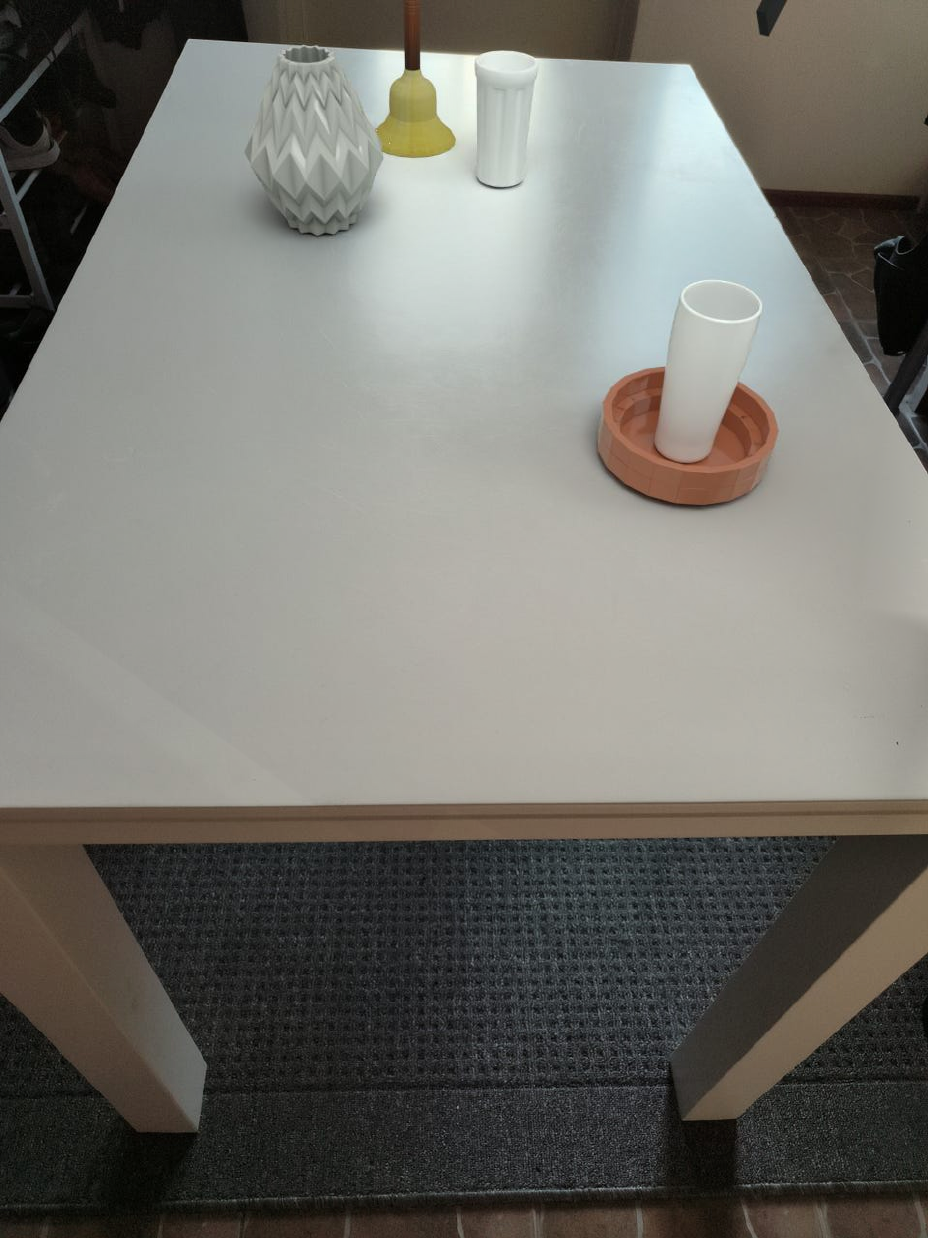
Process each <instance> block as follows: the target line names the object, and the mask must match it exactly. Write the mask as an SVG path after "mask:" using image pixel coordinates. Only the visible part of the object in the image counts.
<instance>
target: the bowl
mask: <svg viewBox="0 0 928 1238" xmlns="http://www.w3.org/2000/svg"><path fill="white" fill-rule="evenodd" d="M665 367H666V365H664V366H656V367H648V368H643V369H640V370H638V371H635V372H633V373H630V374H628V375H624V376H623V377H622V378H620V379H619V380H618V381H617V382H615V383H614V384H612V386H610V388H609V390H608V392H607V393H606V396H605V397H604V400H603V401H602V406H601V411H600V417H599V418H600V419H599V423H598V430H597V452H598V453H599V455H600V457H601V459H602V461H603V463H604V464H605V467H606V468H607V469H608V470H609V471H610V472H611V473H612V474H614V475H615V476H616V477H617V478H618V479H619V480H620V481H621V482H622V483H623V484H624V485H626V486H628V487H631V488H632V489H634V490H636V491H638V492H640V493H642V494H644V495H646V496H648V497H651V498H655V499H658V500H662V501H665V502H669V503H673V504H680V505H681V504H682V505H695V506H706V505H707V506H708V505H713V504H720V503H725V502H726V503H727V502H730V501H733V500H735V499H737V498H739V497H742V496H743V495H746V494H748V493H750V492H751V491H752V490H753V489H754V488H755V487H756V486H757V485H758V484H759V483H760V481H762V479H764V475H765V473H766V471H767V467H768V464H769V462H770V459H771V458H772V457H771V456H772V454H773V451H774V448H775V446H776V442H777V439H778V435H779V426H778V422H777V418H776V415H775V412H774V411H773V409H772V408H771V407H770V406H769V404H768V403H767V402H766V400H765V399H764V398H763V397H762V396H761V395H760V394H758V393H757V392H755V391H754V390H753V389H751V388H750V387H749V386H747V385H746V384H744V383H742V382H740V381H738V383H737V385H736V388H735V390H734V393H733V395H732V397H731V400H730V402H729V405H728V407H727V409H726V412H725V414H724V417H723V419H722V421H721V424H720V426H719V429H718V431H717V434H716V437H715V440H714V443H713V446H712V449H711V451H710V453H709V454H708V456H707V457H705V458H704V459H702V460H700V461H698V462H694V463H680V462H675V461H672V460H670V459H668V458H666V457H664V456H663V455H662V454H661V453H660V452H659V451H658V450H657V448H656V446H655V442H654V437H655V432H656V428H657V423H658V417H659V410H660V403H661V396H662V389H663V382H664V374H665Z"/></svg>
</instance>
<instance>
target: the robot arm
mask: <svg viewBox="0 0 928 1238" xmlns="http://www.w3.org/2000/svg"><path fill="white" fill-rule="evenodd" d="M787 2H788V0H760V2H759V5H758V7H757V8H756V11H755V13H756V19H757V20H756V21H757V27H758V33H759V35H760V36H762V37H763V36H764V37H770V35H771V33H772V32H773V29H774V27H775V26H776V24H777V22H778V20H779V18H780V16H781V14H782V12H783V10H784V8H785V6H786V3H787Z"/></svg>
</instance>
